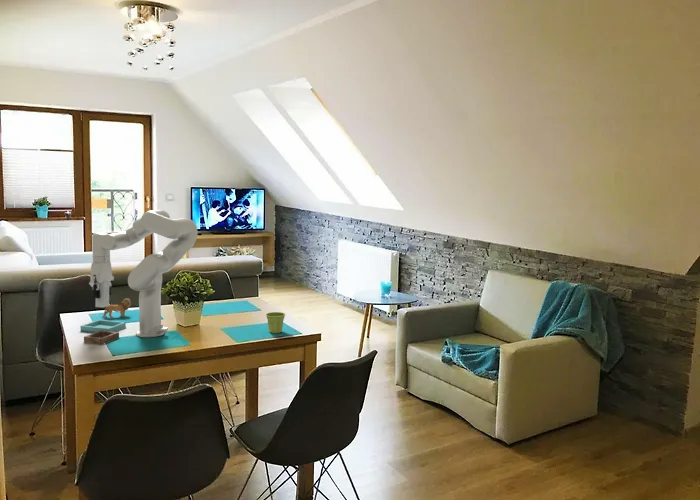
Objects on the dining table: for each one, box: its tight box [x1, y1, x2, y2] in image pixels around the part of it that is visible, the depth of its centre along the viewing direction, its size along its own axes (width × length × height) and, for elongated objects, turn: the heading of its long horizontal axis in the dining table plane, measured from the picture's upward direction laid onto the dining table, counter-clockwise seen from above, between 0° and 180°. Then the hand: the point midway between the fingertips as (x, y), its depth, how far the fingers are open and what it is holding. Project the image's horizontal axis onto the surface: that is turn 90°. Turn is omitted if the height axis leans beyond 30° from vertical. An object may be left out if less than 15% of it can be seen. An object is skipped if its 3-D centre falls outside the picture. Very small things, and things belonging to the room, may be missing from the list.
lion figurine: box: [101, 298, 132, 319], centre depth 308 cm, size 15×5×9 cm, turn 131°
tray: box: [80, 319, 127, 334], centre depth 285 cm, size 15×13×2 cm
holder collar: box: [83, 330, 120, 345], centre depth 267 cm, size 9×11×2 cm
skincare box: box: [94, 281, 110, 308], centre depth 283 cm, size 6×4×12 cm
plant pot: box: [265, 311, 286, 334], centre depth 288 cm, size 9×9×9 cm
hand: (102, 296), depth 283 cm, fingers closed on skincare box, 7 cm apart
